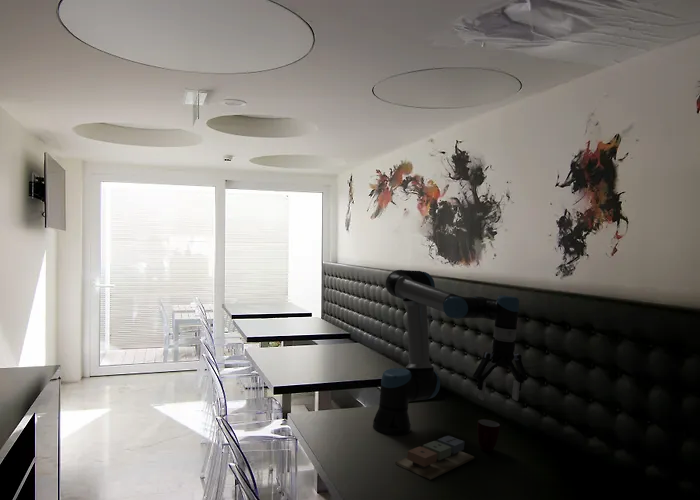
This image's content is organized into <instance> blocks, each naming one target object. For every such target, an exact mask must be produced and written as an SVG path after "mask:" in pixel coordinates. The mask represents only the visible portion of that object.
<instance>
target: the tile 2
mask: <svg viewBox="0 0 700 500" xmlns="http://www.w3.org/2000/svg"><path fill="white" fill-rule="evenodd" d="M422 447H423V448H426V449H428V450H431V451H433V452H436V453H437V459H438V460H441V459H443V458H446V457H448V456H450V455H451V447H450V446H447V445H445V444H442V443H439V442H437V440H433V441H430V442H427V443H425V444H423V445H422Z"/></svg>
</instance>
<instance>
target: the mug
mask: <svg viewBox="0 0 700 500" xmlns="http://www.w3.org/2000/svg"><path fill="white" fill-rule="evenodd" d="M500 427H501V425H500V423H499V422H497V421H494V420H491V419H484V418H483V419H478V420H477V426H476V431H477V433H476V434H477V442H478V444H479V447H480V449H481V450H482V451H484V452H492V451H493V450H494V448H495V447H496V445H497V441H498V439H499V434H500V429H501V428H500Z"/></svg>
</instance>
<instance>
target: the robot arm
mask: <svg viewBox="0 0 700 500" xmlns="http://www.w3.org/2000/svg"><path fill="white" fill-rule="evenodd" d="M385 288H386V290H387V292H388V293H389V295H391V296H393V297H395V298H398V299H400V300H401V299H402V303H403V305H405V306H406V318H407V341H408V342H407V343H408V360H409V361H408V364H407V365H406V366H405V368H401V367H400V368H397V367H392V368H388V369H385V370H384V371H383V372H382V376H381V380H380V390H379V391H380V392H379V393H380V394H379V403H378V409H377V412H376V414H375V416H374V419H373V420H372V421H373V422H372V428H373V429H374V430H376V431H377V432H378V433H379V432H380V433H381V434H385V435H389V436H390V435H391V436H404V435H408V434H410V432H411V427H412V425H411V421H410V416H409V402H413V401H427V400H429V399H433V398H435V397H436V396H437V394H438V393H439V391H440V389H441V379H440V376H439V374H438V373H437V371H435V370H434V365H433V364H432V363H431V361H430V345H429V343H430V342H429V327H428V326H429V325H428V307H429V308H431V309H434V310H437V311H440V312H443V313H444V314H445V315H446V317H448V318H450V319H459V320H460V319H486V320H490V321H494V328H493V335H492V336H493V339H492V347H491V348H492V351H491V353H490V352H487V351H484V352H483V356H482V358H481V361H480V363H479V364H478V366H477V367H476V369H475V371H474V373H473V375H472V376H473V378H474V379H476V380H477V387H476V389H477V390H478V395H477V398H478V399H479V400H481V401H485V395H486V394H485V393H486V386H487V385H486V383H487V382H486V379H487V378H488V376H489V375H491V373H492V372H493V370H494V369H496V368H498V367H505V368H506V367H507V368H508V369H509V372H510V373H511V374H512V375H513V377H514V379H515V380H513V383H512V392H511V399H512V400H514V401H516V402H518V401H519V396H520V395H519V394H520V391H521V389H522V384H523V383H525V381H527V380H528V377H527V373H526V370H525V367H524V365H523V361H522V354H519V353H517V352H515V349H516V342H515V341H516V337H517V326H518V318H519V312H520V299H519V298H518V297H516V296H512V295H503V294H501V295H500V294H499V295H498V296H497V299H494V298H489V297H484V296H480V295H479V296H472V297H471V296H470V297H468V296H463V295H462V296H461V295H458V294H456V293H452V292H450V291H446V290H443V289H440V288H438V287H436V284H435V281H434V278H433V277H432V275H430V273H428V272H425V271H421V270H408V269H407V270H405V269H396V270H393V271H392V272H390V273H389V274H388V275H387V277H386V280H385ZM513 361H514V362H513ZM514 363H515V364H514ZM515 366H516V367H515Z"/></svg>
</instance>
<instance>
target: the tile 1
mask: <svg viewBox="0 0 700 500" xmlns="http://www.w3.org/2000/svg"><path fill="white" fill-rule="evenodd" d="M406 457H407V459H408V460H410V461H412V462H415V463H417V464H419V465H421V466H424V467H425V466H428V465H430V464H432V463H434V462H436V461H437V453H436V452H433V451H431V450H428V449H426V448H423V446H420V445H419V446H417V447H414V448H411V449H409V450H407V456H406Z"/></svg>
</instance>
